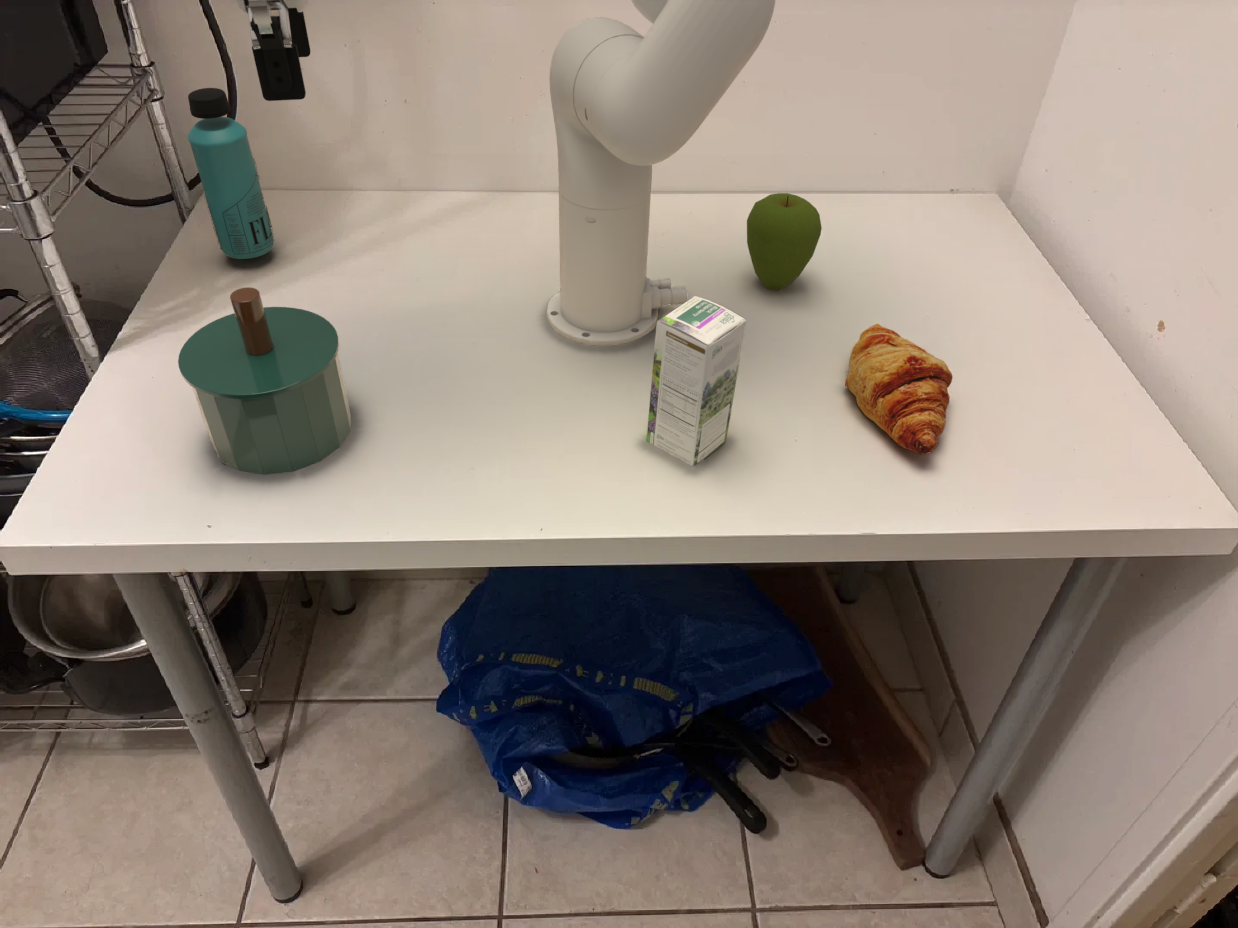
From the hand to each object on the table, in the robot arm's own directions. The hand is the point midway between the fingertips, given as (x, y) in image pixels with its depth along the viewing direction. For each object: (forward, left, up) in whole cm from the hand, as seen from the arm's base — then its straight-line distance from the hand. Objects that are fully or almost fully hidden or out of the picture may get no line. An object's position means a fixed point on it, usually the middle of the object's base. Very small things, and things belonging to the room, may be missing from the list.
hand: (288, 76), depth 77 cm
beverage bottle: (+12, -26, -30) cm, 42 cm away
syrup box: (-32, +17, -30) cm, 47 cm away
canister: (+6, +9, -30) cm, 32 cm away
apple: (-50, -10, -30) cm, 59 cm away
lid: (+6, +9, -21) cm, 23 cm away
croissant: (-55, +14, -30) cm, 64 cm away
